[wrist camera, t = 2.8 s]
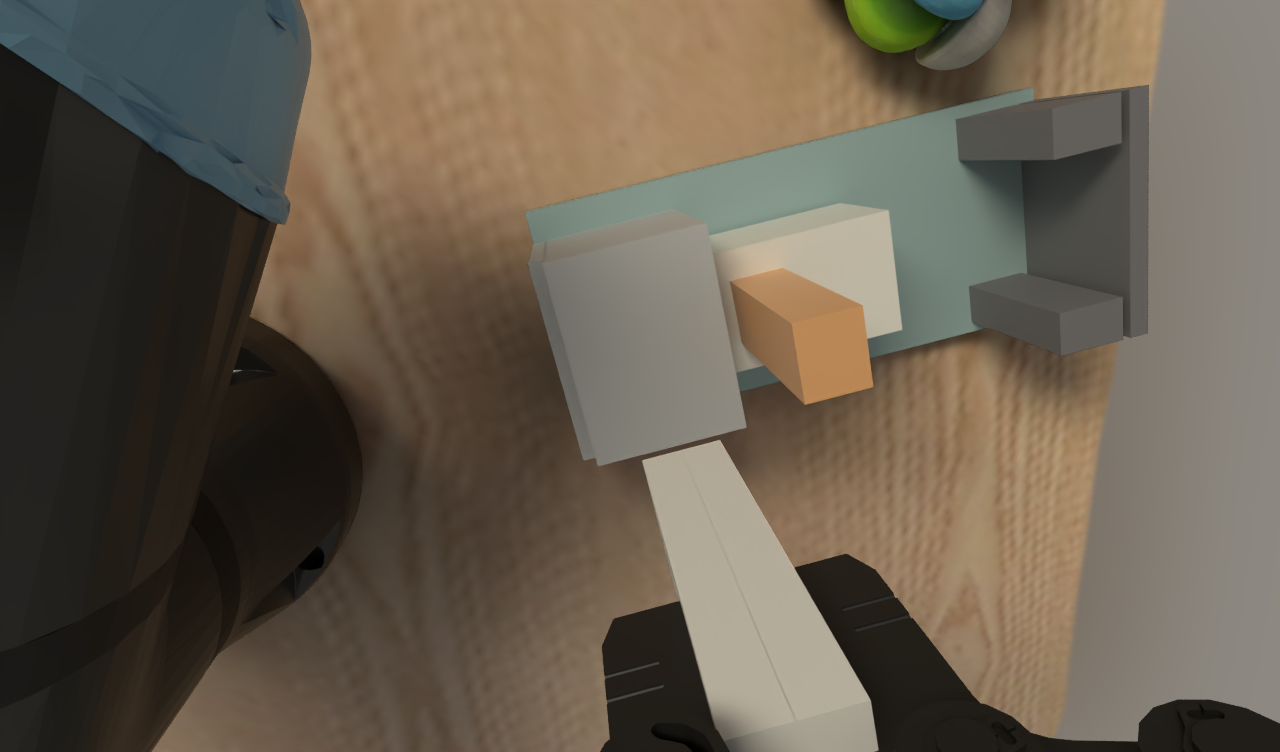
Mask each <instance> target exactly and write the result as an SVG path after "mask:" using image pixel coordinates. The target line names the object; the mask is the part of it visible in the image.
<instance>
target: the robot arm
mask: <svg viewBox="0 0 1280 752" xmlns="http://www.w3.org/2000/svg"><path fill="white" fill-rule="evenodd" d="M310 65H311V39H310V34H309V28H308V22H307V19H306V16H305V13H304V10H303V8H302V5H301V2H300V0H0V752H152V750H153V749H154V747H155V746H156V744H157V743H158V741H159V740H160V739H161V737H162V736H163V734H164V733H165V731H166V730H167V728H168V727H169V725H170V724H171V722H172V721H173V720H174V718H175V717H176V715H177V714H178V712H179V711H180V709H181V708H182V706H183V705H184V703H185V702H186V701H187V699H188V698H189V696H190V695H191V693H192V692H193V690H194V689H195V687H196V686H197V684H198V683H199V681H200V680H201V679H202V677H203V675H204V673H205V672H206V670H207V669H208V667H209V666H210V665H211V663H212V662H213V660H214V659H215V657H216V656H217V654H218V653H220V652H221V651H223V650H224V649H226V648H227V647H229V646H230V645H232V644H233V643H235V642H236V641H238V640H239V639H241V638H242V637H244V636H245V635H247V634H248V633H250V632H251V631H253V630H254V629H256V628H257V627H259V626H260V625H262V624H263V623H265V622H266V621H268V620H269V619H271V618H272V617H274V616H275V615H277V614H278V613H280V612H281V611H283V610H284V609H286V608H287V607H288V606H290V605H291V604H292V603H294V602H295V601H296V600H297V599H299V598H300V597H301V596H302V595H303V594H304V593H305V592H306V591H307V590H308V589H309V588H310V587H311V586H312V585H313V584H314V583H315V582H316V581H317V580H318V579H319V577H320V576H321V575H322V574H323V573H324V571H325V570H326V568H327V567H328V566H329V564H330V563H331V561H332V559H333V558H334V556H335V554H336V552H337V551H338V549H339V547H340V545H341V544H342V542H343V540H344V538H345V537H346V535H347V533H348V531H349V529H350V527H351V525H352V523H353V520H354V517H355V514H356V512H357V508H358V504H359V500H360V494H361V487H362V461H361V453H360V447H359V442H358V439H357V435H356V431H355V429H354V426H353V423H352V420H351V418H350V416H349V413H348V411H347V409H346V407H345V405H344V403H343V401H342V400H341V398H340V396H339V395H338V393H337V392H336V390H335V388H334V387H333V386H332V384H331V383H330V382H329V380H328V379H327V377H326V376H325V375H324V374H323V373H322V372H321V370H320V369H319V368H318V367H317V366H316V365H315V364H314V363H313V362H312V361H311V360H310V359H309V358H308V357H307V356H306V355H305V354H304V353H303V352H302V351H301V350H299V349H298V348H297V347H296V346H295V345H293V344H292V343H291V342H289V341H288V340H287V339H286V338H284V337H283V336H281V335H280V334H278V333H277V332H275V331H274V330H272V329H270V328H269V327H267V326H265V325H263V324H262V323H260V322H258V321H256V320H254V319H252V318H250V314H251V310H252V307H253V304H254V300H255V297H256V294H257V290H258V287H259V283H260V280H261V277H262V273H263V270H264V267H265V263H266V260H267V257H268V253H269V250H270V246H271V243H272V240H273V236H274V233H275V230H276V226H277V224H284V225H285V223H286V221H287V218H288V215H289V210H290V201H289V200H288V198H287V197H286V196H285V194H284V191H285V186H286V181H287V176H288V171H289V165H290V160H291V155H292V150H293V145H294V140H295V135H296V129H297V125H298V121H299V116H300V112H301V108H302V103H303V99H304V95H305V90H306V86H307V81H308V77H309V72H310ZM642 462H643V466H644V470H645V474H646V478H647V482H648V486H649V490H650V494H651V498H652V502H653V506H654V510H655V514H656V517H657V521H658V525H659V529H660V533H661V537H662V541H663V545H664V549H665V553H666V557H667V561H668V565H669V569H670V573H671V577H672V581H673V584H674V588H675V592H676V596H677V599H678V602H674V603H670V604H667V605H663V606H659V607H656V608H652V609H648V610H644V611H641V612H637V613H633V614H630V615H626V616H622V617H618V618H615V619H613V622H612V624H611V626H610V629H609V631H608V633H607V636H606V638H605V640H604V643H603V645H602V653H603V665H604V675H605V688H606V699H607V703H608V704H607V711H608V722H609V733H610V739H609V740H608V741H607V742H606V743H605V744H604V746H603V748H602V749H601V751H600V752H1280V723H1277V722H1275V721H1273V720H1271V719H1269V718H1266V717H1264V716H1262V715H1260V714H1257V713H1255V712H1253V711H1251V710H1249V709H1247V708H1243V707H1239V706H1234V705H1230V704H1226V703H1222V702H1217V701H1213V700H1175V701H1172V702H1169V703H1166V704H1163V705H1160V706H1157V707H1154V708H1153V709H1152V710H1151V711H1150V712H1149V713H1148V714H1147V715H1146V716H1145V717H1144V718H1143V719H1142V720H1141V722H1140V723H1139V733H1138V742H1128V741H1073V740H1064V739H1054V738H1048V737H1044V736H1040V735H1037V734H1033V733H1030V732H1029V731H1028V730H1027V729H1026V728H1024V727H1023V726H1022V725H1021V724H1020V723H1019V722H1018V721H1016V720H1015V719H1014V718H1013V717H1012V716H1010V715H1008V714H1005V713H1003V712H1001V711H999V710H997V709H995V708H993V707H990V706H988V705H986V704H981V703H980V702H979V701H978V700H977V699H976V698H975V697H974V696H973V695H972V694H971V692H970V691H969V690H968V689H967V687H966V686H965V685H964V683H963V682H962V681H961V680H960V678H959V677H958V676H957V674H956V673H955V672H954V671H953V669H952V668H951V667H950V665H949V664H948V663H947V662H946V660H945V659H944V658H943V656H942V655H941V654H940V653H939V651H938V650H937V649H936V647H935V646H934V645H933V643H932V642H931V641H930V640H929V638H928V637H927V636H926V634H925V633H924V632H923V631H922V629H921V628H920V627H919V625H918V624H917V623H916V622H915V620H914V619H913V618H910V616H909V613H908V611H907V610H906V609H905V607H904V606H903V605H902V604H901V602H900V601H899V600H898V598H895V597H894V593H893V592H892V591H891V589H890V588H889V587H888V586H887V584H886V583H885V582H884V580H883V579H882V578H881V576H880V575H879V574H878V573H877V571H876V570H875V569H873V568H871V567H869V566H868V565H866V564H864V563H862V562H860V561H859V560H857V559H855V558H853V557H851V556H850V555H848V554H843V555H840V556H836V557H832V558H828V559H825V560H821V561H817V562H814V563H810V564H806V565H802V566H799V567H795V568H794V567H793V565H792V563H791V562H790V560H789V558H788V557H787V555H786V553H785V551H784V550H783V548H782V546H781V544H780V543H779V541H778V539H777V538H776V536H775V534H774V532H773V531H772V529H771V527H770V525H769V524H768V522H767V520H766V519H765V517H764V515H763V513H762V512H761V510H760V508H759V506H758V505H757V503H756V501H755V500H754V498H753V496H752V494H751V493H750V491H749V489H748V487H747V486H746V484H745V482H744V481H743V479H742V477H741V475H740V474H739V472H738V470H737V469H736V467H735V465H734V463H733V462H732V460H731V458H730V456H729V455H728V453H727V451H726V450H725V448H724V446H723V444H722V443H721V441H720V440H718V441H714V442H710V443H706V444H702V445H699V446H695V447H691V448H687V449H683V450H679V451H676V452H672V453H668V454H664V455H660V456H656V457H653V458H649V459H645V460H642Z"/></svg>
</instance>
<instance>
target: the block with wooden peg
mask: <svg viewBox="0 0 1280 752" xmlns="http://www.w3.org/2000/svg"><path fill="white" fill-rule="evenodd" d="M709 238H710V243H711V248H712V253H713V259H714V264H715V269H716V274H717V279H718V284H719V289H720V294H721V299H722V304H723V309H724V314H725V320H726V325H727V330H728V335H729V340H730V345H731V350H732V355H733V360H734V365H735V370H736V373H737V372H741V371H745V370H749V369H753V368H756V367H760V366H764V365H765V366H766V367H767V368H768V369H769V370H770V371H771V372H772V373H773V374H774V375H775V376H776V377H777V378H778V379H779V380H780V381H781V382H782V383H783V384H784V385H785V386H786V387H787V388H788V389H789V390H790V391H791V392H792V393H793V394H794V395H795V396H796V397H797V398H798V399H799V400H800V401H801V402H802V403H803V404H805V405H807V404H811V403H814V402H818V401H822V400H826V399H830V398H834V397H837V396H841V395H845V394H849V393H853V392H857V391H860V390H864V389H868V388H872V387H873V380H872V372H871V365H870V357H869V349H868V342H867V339H869V338H872V337H876V336H880V335H884V334H888V333H892V332H896V331H899V330H902V323H901V314H900V305H899V296H898V288H897V279H896V270H895V261H894V252H893V243H892V235H891V226H890V217H889V210H885V209H878V208H871V207H864V206H857V205H850V204H843V203H838V204H834V205H830V206H826V207H822V208H818V209H814V210H810V211H806V212H802V213H798V214H794V215H790V216H786V217H782V218H778V219H774V220H770V221H766V222H762V223H758V224H754V225H750V226H746V227H742V228H738V229H734V230H730V231H726V232H722V233H718V234H714V235H710V236H709Z"/></svg>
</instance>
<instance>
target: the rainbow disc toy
mask: <svg viewBox="0 0 1280 752" xmlns="http://www.w3.org/2000/svg"><path fill="white" fill-rule="evenodd" d="M844 2H845V7H846V11H847V15H848V18H849V21H850V23H851V26H852V27H853V29H854V31H855V32H856V34H857V35H858V36H859V38H860V39H861V40H862V41H864V42H865V43H866V44H868V45H869V46H871V47H873V48H875V49H877V50H879V51H883V52H888V53H897V52H903V51H908V50H911V49H914V48H916V47H917V49H916V53H915V58H916V61H917V62H918V63H919V64H921V65H923V66H925V67H927V68H930V69H935V70H952V69H958V68H961V67H964V66H967V65H969V64H971V63H973V62H974V61H976V60H978V59H979V58H980V57H982V56H983V55H984V54H985V53H986V52H987V51H988V50H989V49H990V48H991V47H992V46H993V45H994V44H995V43H996V42H997V40H998V39H999V38H1000V36H1001V35H1002V33H1003V32H1004V30H1005V28H1006V25H1007V23H1008V20H1009V17H1010V13H1011V5H1012V0H844Z"/></svg>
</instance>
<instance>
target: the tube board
mask: <svg viewBox="0 0 1280 752" xmlns="http://www.w3.org/2000/svg"><path fill="white" fill-rule="evenodd" d="M1148 166H1149V85H1144V86H1137V87H1129V88H1121V89H1114V90H1106V91H1099V92H1091V93H1083V94H1076V95H1068V96H1060V97H1053V98H1045V99H1037V100H1034V90H1033V88H1027V89H1021V90H1016V91H1012V92H1008V93H1004V94H1000V95H995V96H991V97H987V98H983V99H979V100H975V101H971V102H967V103H963V104H959V105H955V106H951V107H947V108H943V109H939V110H935V111H931V112H926V113H922V114H918V115H914V116H910V117H906V118H902V119H898V120H894V121H890V122H886V123H882V124H878V125H874V126H870V127H866V128H861V129H857V130H853V131H849V132H845V133H841V134H837V135H833V136H829V137H825V138H821V139H817V140H813V141H809V142H805V143H801V144H796V145H792V146H788V147H784V148H780V149H776V150H772V151H768V152H764V153H760V154H756V155H752V156H748V157H744V158H740V159H736V160H732V161H727V162H723V163H719V164H715V165H711V166H707V167H703V168H699V169H695V170H691V171H687V172H683V173H679V174H675V175H671V176H667V177H662V178H658V179H654V180H650V181H646V182H642V183H638V184H634V185H630V186H626V187H622V188H618V189H614V190H610V191H606V192H602V193H597V194H593V195H589V196H585V197H581V198H577V199H573V200H569V201H565V202H561V203H557V204H553V205H549V206H545V207H541V208H537V209H532V210H528V211H526V212H525V215H526V218H527V222H528V225H529V229H530V233H531V236H532V240H533V243H534V244H533V248H532V251H531V255H530V258H529V262H528V267H529V270H530V274H531V277H532V281H533V284H534V288H535V291H536V295H537V299H538V302H539V306H540V309H541V313H542V316H543V320H544V323H545V327H546V330H547V334H548V337H549V341H550V344H551V348H552V352H553V355H554V359H555V362H556V366H557V369H558V373H559V376H560V380H561V383H562V387H563V390H564V394H565V397H566V401H567V404H568V408H569V412H570V415H571V419H572V422H573V426H574V429H575V433H576V436H577V440H578V443H579V447H580V450H581V454H582V457H583V461H585V460H589V459H593V458H596V461H597V465H598V466H602V465H606V464H610V463H613V462H617V461H621V460H625V459H629V458H632V457H636V456H640V455H644V454H648V453H652V452H655V451H659V450H663V449H667V448H671V447H674V446H678V445H682V444H686V443H690V442H694V441H697V440H701V439H705V438H709V437H713V436H716V435H720V434H724V433H728V432H732V431H736V430H739V429H743V428H747V426H746V421H745V416H744V411H743V406H742V401H741V396H740V392H742V391H746V390H750V389H754V388H758V387H761V386H765V385H769V384H773V383H777V382H781V381H780V380H779V379H778V378H777V377H776V376H775V375H774V374H773V373H772V372H771V371H770V370H769V369H768V368H767V367H766V366H765V365H764V366H760V367H756V368H753V369H749V370H745V371H741V372H737V373H736V370H735V365H734V360H733V355H732V350H731V345H730V340H729V335H728V330H727V325H726V320H725V314H724V309H723V304H722V299H721V294H720V289H719V284H718V279H717V274H716V269H715V264H714V259H713V253H712V248H711V243H710V238H709V236H710V235H714V234H718V233H722V232H726V231H730V230H734V229H738V228H742V227H746V226H750V225H754V224H758V223H762V222H766V221H770V220H774V219H778V218H782V217H786V216H790V215H794V214H798V213H802V212H806V211H810V210H814V209H818V208H822V207H826V206H830V205H834V204H838V203H843V204H850V205H857V206H864V207H871V208H878V209H885V210H889V217H890V226H891V235H892V243H893V252H894V261H895V270H896V279H897V288H898V296H899V305H900V314H901V323H902V330H899V331H896V332H892V333H888V334H884V335H880V336H876V337H872V338H869V339H867V342H868V349H869V357H870V358H873V357H877V356H881V355H885V354H888V353H892V352H896V351H900V350H904V349H908V348H912V347H915V346H919V345H923V344H927V343H931V342H935V341H939V340H942V339H946V338H950V337H954V336H958V335H962V334H965V333H969V332H973V331H977V330H981V329H985V328H990V329H992V330H995V331H998V332H1000V333H1003V334H1005V335H1008V336H1011V337H1013V338H1016V339H1018V340H1021V341H1024V342H1026V343H1029V344H1031V345H1034V346H1037V347H1039V348H1042V349H1044V350H1047V351H1050V352H1052V353H1055V354H1057V355H1060V356H1063V355H1067V354H1071V353H1075V352H1078V351H1082V350H1086V349H1090V348H1094V347H1097V346H1101V345H1105V344H1109V343H1113V342H1117V341H1120V340H1123V336H1126V337H1130V338H1131V337H1136V336H1139V335H1143V334H1146V333H1148Z"/></svg>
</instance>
